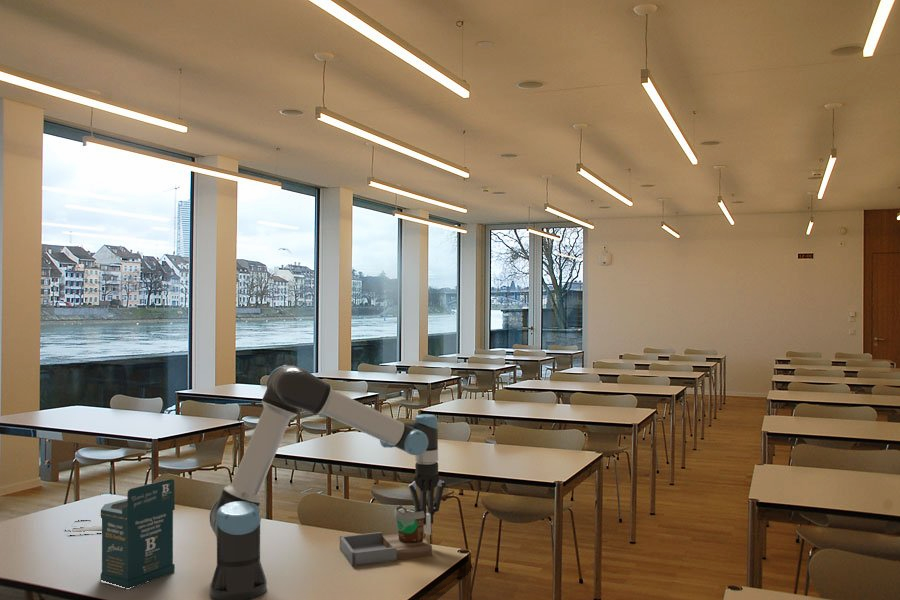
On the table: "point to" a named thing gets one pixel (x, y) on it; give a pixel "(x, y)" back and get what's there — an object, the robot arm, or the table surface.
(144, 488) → the donation box
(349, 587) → the table surface
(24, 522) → the table surface
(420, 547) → the tan wooden flat block
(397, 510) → the food container
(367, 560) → the tray
